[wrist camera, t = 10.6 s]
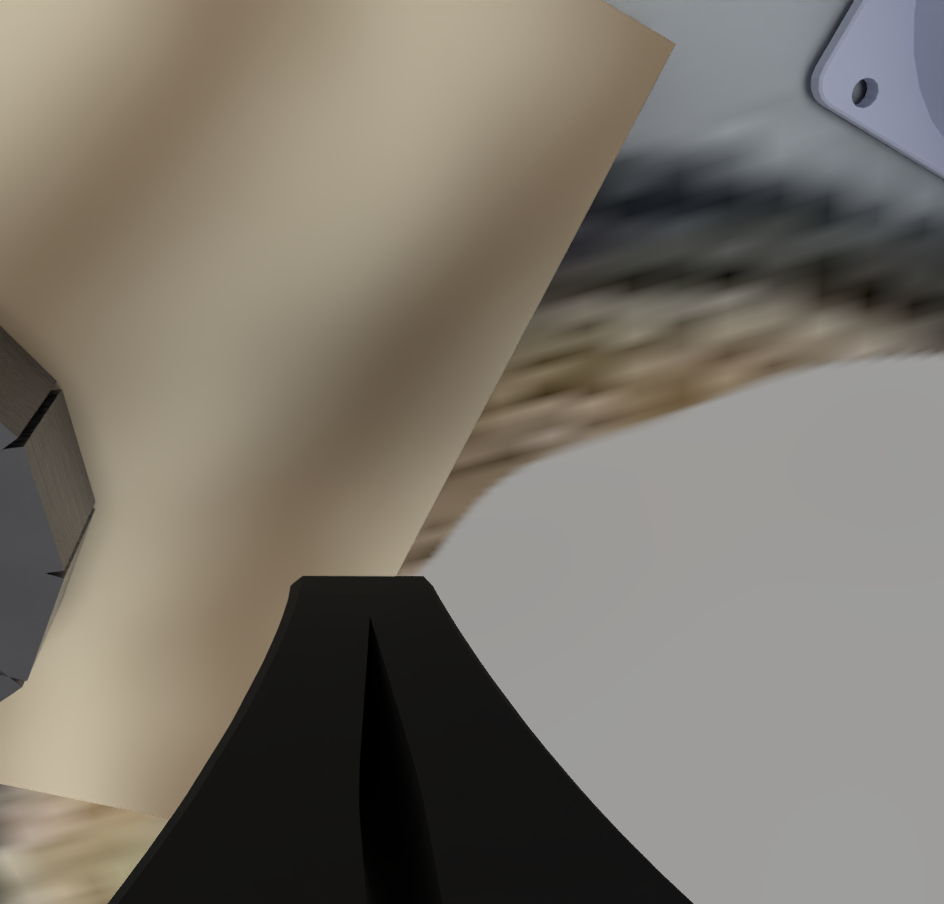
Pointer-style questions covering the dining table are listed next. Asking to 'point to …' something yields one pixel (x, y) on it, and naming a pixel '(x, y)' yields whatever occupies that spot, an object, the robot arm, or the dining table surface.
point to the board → (269, 313)
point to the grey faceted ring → (35, 508)
